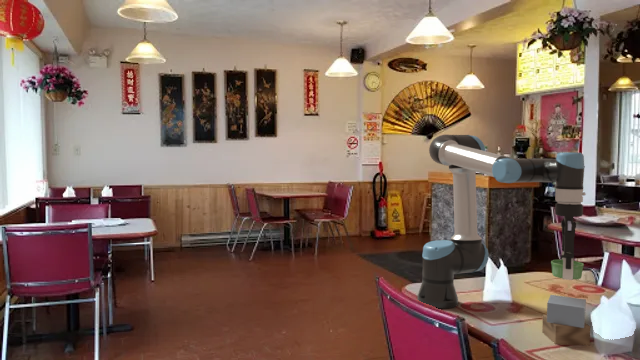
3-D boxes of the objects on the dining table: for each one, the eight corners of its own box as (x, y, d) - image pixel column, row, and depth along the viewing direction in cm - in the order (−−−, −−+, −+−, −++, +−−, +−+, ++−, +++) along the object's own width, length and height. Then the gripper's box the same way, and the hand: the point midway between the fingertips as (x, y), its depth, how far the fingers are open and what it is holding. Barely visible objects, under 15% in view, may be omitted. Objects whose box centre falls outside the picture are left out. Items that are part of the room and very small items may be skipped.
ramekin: (582, 281, 143) (583, 267, 143) (549, 277, 148) (549, 263, 147) (583, 275, 151) (584, 261, 151) (551, 271, 155) (552, 258, 155)
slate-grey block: (546, 322, 148) (547, 302, 148) (550, 312, 157) (550, 294, 157) (583, 328, 143) (584, 308, 143) (585, 318, 152) (585, 299, 151)
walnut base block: (555, 345, 146) (555, 325, 145) (542, 333, 156) (542, 314, 155) (589, 346, 145) (590, 326, 145) (574, 333, 155) (575, 315, 155)
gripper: (585, 206, 137) (583, 285, 138) (580, 200, 156) (578, 269, 157) (556, 205, 140) (554, 282, 141) (554, 199, 159) (552, 267, 161)
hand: (566, 275), depth 149 cm, fingers closed on ramekin, 9 cm apart
